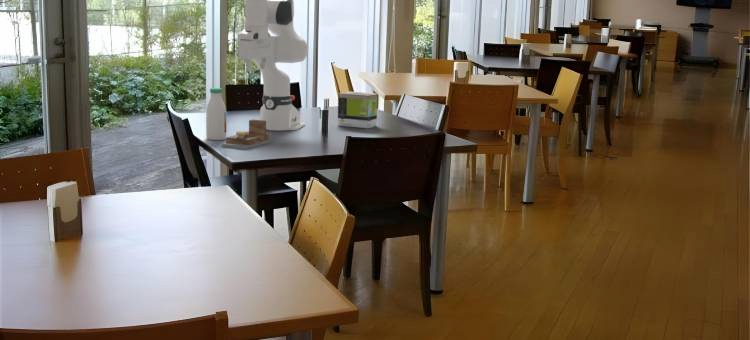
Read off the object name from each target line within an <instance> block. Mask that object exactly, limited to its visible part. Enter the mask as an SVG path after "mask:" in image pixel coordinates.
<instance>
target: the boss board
mask: <svg viewBox="0 0 750 340" xmlns="http://www.w3.org/2000/svg"><path fill="white" fill-rule="evenodd" d="M247 132H248V131H245V130H238V131H235V133H236V134H235V135H239V138H242V139H243V138H244V135H247ZM269 143H273V138H272V137H271V139H269V140H266V141H262V142H259V143H255V144H252V145H241V144H233V143H226V142H224V143H222V144H221V145H222V148H228V149H237V150H249V149H252V148H255V147H259V146H262V145H266V144H269Z"/></svg>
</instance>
